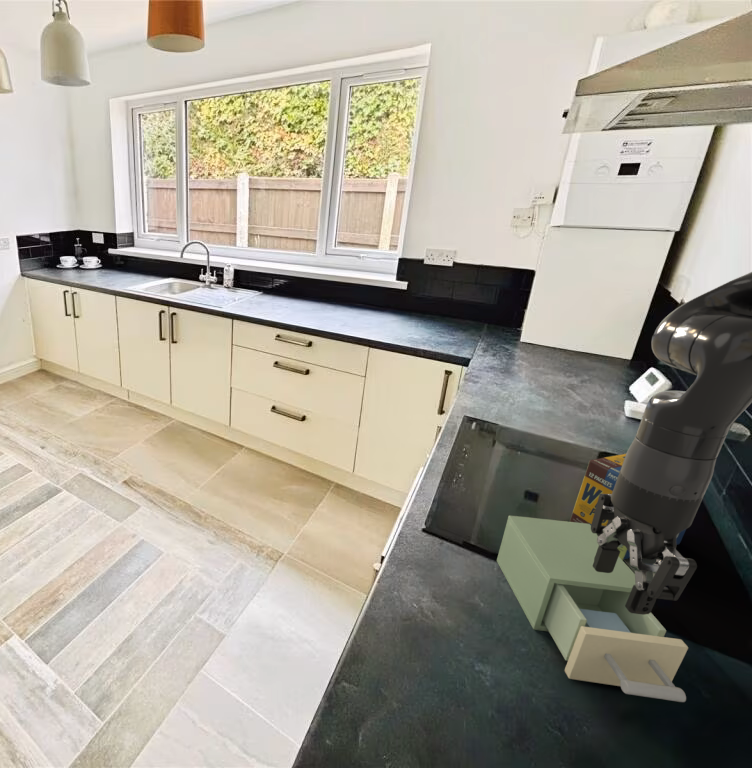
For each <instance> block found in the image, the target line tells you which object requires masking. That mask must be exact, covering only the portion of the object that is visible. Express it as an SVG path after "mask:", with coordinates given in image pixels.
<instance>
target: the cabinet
mask: <svg viewBox="0 0 752 768" xmlns="http://www.w3.org/2000/svg"><path fill="white" fill-rule="evenodd" d="M597 537H598V536H597V534H595V533H592V531H591V525H590V524H586V523H576V522H570V521H567V520H565V521H564V520H558V519H557V520H555V519H546V518H538V517H537V518H536V517H528V516H520V515H519V516H517V515H511V514H510V515H508V517H507V520H506V525H505V528H504V532H503V536H502V540H501V543H500V546H499V550H498V555H497V558H496V563H497V564H498V566H499V568H500V570H501V571H502V573H503V575H504V577H505V579H506V581H507V584H508V585H509V587H510V588H511V591H512V593H513V594H514V596H515V598H516V599H517V600H516V601H517V602H518V603H519V605H520V607H521V609H522V611H523V613H524V615H525V616H526V618H527V620H528V622H529V624H530V625H531V628H532V630H534V631H542V632H548V633H550V632H549V631H548V629H547V627H546V625H545V624H544V622H543V620H542V619H543V616H544V613H545V610H546V607H547V604H548V601H549V598H550V595H551V592H552V589H553V586H554V583H557V584H565V585H573V586H581V587H589V588H598V589H606V590H614V591H622V592H631V590H632V588H633V585H635V572H633V570H632V569H631V568H630V567H629V566H628V565H627V564H626V563H624V562H623V561H622V559H621V558H620V557H618V559H617V562H616V564H615V567H614V570H613V572H611V573H604V572H597V571H596V570H595V569H594V568H593V563H594V558H595V555H596V553H597V549H598V547H599V545H598V543H597Z"/></svg>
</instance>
